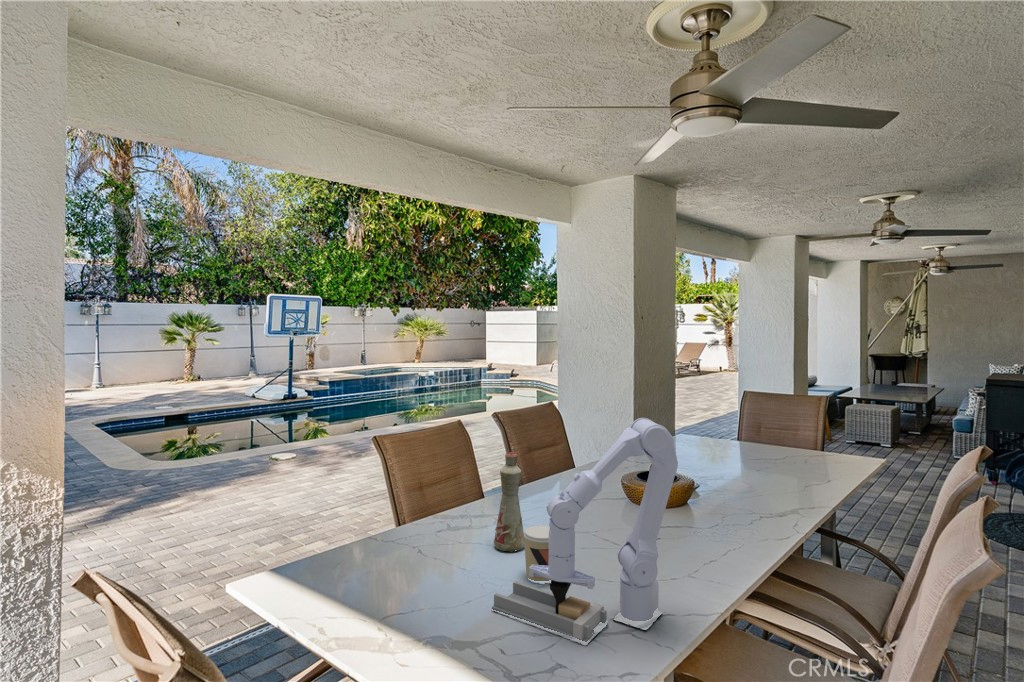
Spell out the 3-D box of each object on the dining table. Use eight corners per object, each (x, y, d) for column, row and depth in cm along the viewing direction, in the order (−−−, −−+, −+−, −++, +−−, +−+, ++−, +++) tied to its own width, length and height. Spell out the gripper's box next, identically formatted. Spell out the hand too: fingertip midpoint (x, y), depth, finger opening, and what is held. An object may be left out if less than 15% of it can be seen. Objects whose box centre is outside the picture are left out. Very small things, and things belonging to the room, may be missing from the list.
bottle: (522, 554, 161) (522, 456, 160) (490, 552, 163) (491, 454, 162) (527, 543, 170) (528, 449, 169) (497, 540, 172) (498, 447, 171)
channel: (517, 594, 138) (517, 577, 138) (607, 625, 124) (608, 606, 124) (491, 611, 130) (492, 593, 130) (586, 646, 116) (586, 626, 116)
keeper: (570, 613, 127) (570, 596, 127) (590, 620, 124) (590, 602, 124) (558, 623, 123) (558, 605, 123) (579, 630, 120) (579, 612, 120)
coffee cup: (529, 588, 141) (529, 540, 141) (519, 572, 150) (519, 526, 150) (565, 583, 144) (565, 536, 144) (552, 568, 153) (553, 523, 153)
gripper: (599, 551, 126) (598, 612, 126) (537, 540, 132) (536, 598, 132) (589, 563, 119) (588, 627, 120) (525, 551, 125) (524, 612, 126)
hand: (560, 613), depth 125 cm, fingers closed, pressing on keeper
